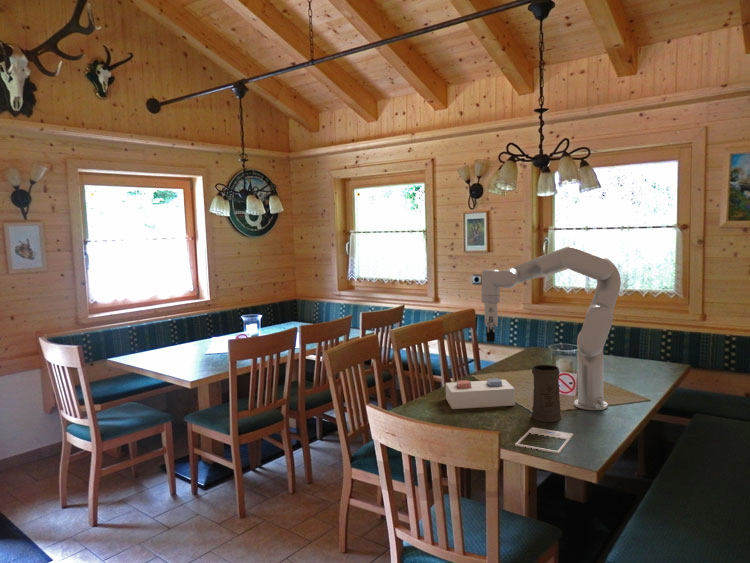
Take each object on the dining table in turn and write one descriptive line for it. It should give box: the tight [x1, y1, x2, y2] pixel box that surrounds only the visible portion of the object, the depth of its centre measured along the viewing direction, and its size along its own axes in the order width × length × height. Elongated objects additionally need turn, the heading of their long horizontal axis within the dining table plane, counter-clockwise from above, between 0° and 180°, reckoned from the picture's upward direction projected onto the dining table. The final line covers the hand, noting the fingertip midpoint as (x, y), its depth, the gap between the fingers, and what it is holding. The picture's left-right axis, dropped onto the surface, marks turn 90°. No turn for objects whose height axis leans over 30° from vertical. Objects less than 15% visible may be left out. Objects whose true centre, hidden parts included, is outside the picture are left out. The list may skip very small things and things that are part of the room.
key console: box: [445, 379, 516, 410], centre depth 237 cm, size 14×26×7 cm, turn 93°
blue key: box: [486, 377, 502, 387], centre depth 237 cm, size 5×5×4 cm
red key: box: [456, 379, 471, 389], centre depth 236 cm, size 5×5×4 cm
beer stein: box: [531, 364, 562, 423], centre depth 216 cm, size 15×11×20 cm
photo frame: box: [514, 426, 575, 455], centre depth 193 cm, size 15×1×18 cm
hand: (490, 339), depth 238 cm, fingers open, 9 cm apart
